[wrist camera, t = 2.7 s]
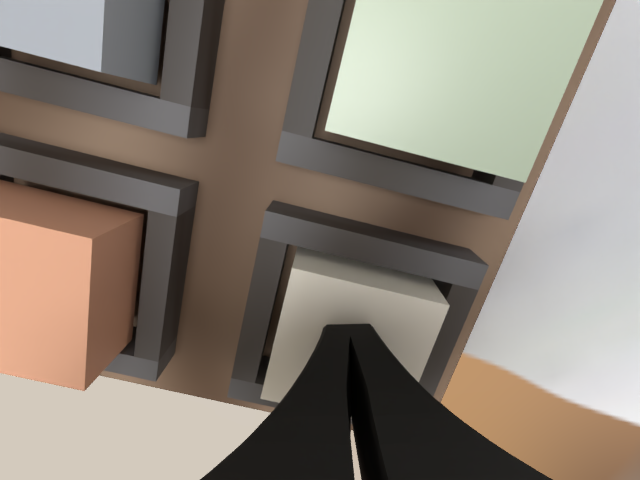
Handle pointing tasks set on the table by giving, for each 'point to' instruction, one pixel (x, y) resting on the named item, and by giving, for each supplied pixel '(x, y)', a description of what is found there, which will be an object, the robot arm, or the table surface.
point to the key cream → (352, 313)
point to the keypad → (254, 186)
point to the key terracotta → (64, 284)
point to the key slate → (88, 33)
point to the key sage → (459, 77)
